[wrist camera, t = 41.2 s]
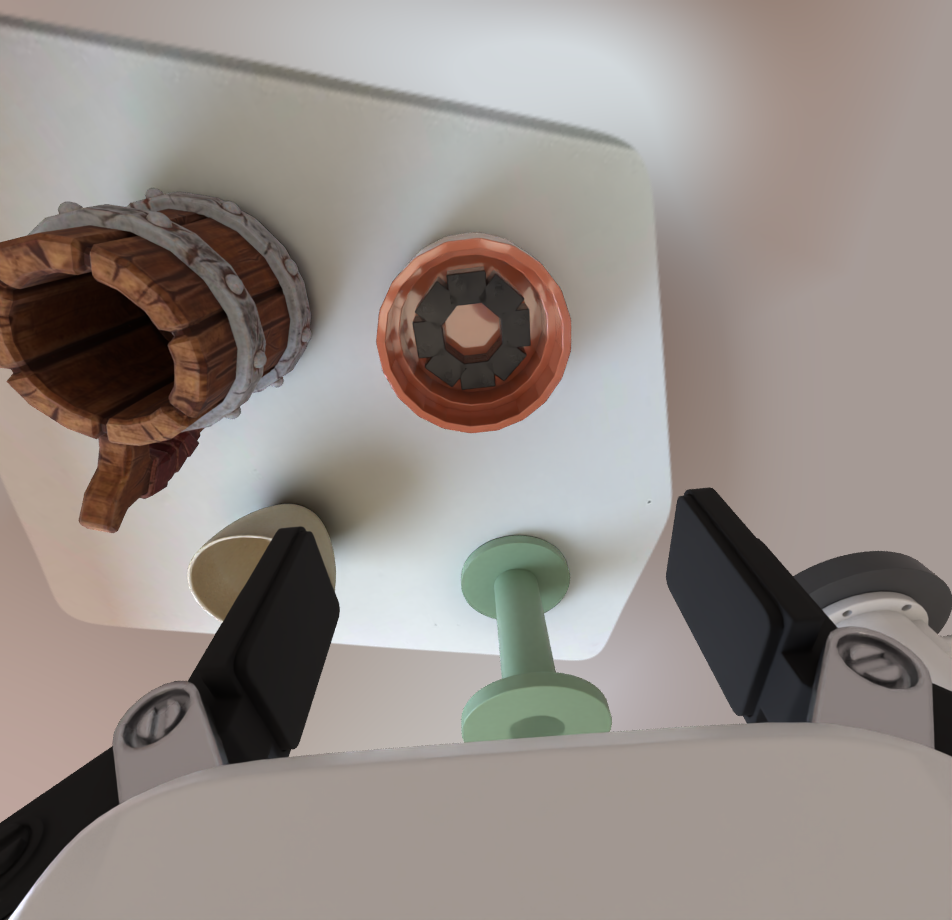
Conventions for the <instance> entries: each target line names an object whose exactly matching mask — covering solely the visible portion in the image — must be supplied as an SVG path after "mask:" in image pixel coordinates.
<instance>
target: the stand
mask: <svg viewBox="0 0 952 920" xmlns="http://www.w3.org/2000/svg"><path fill="white" fill-rule="evenodd" d="M569 583H570V573H569V570H568V566H567V563H566V560H565V558H564V556H563V555H562V553H561V552H560V551H559V550H558V549H557V548H556V547H554V546H553V545H552V544H550V543H548V542H546V541H544V540H542V539H539V538H535V537H531V536H521V535H516V536H506V537H501V538H498V539H495V540H492V541H489V542H487V543H485V544H483V545H482V546H480V547H479V548H478V549H476V550H475V551H474V552H473V553H472V554H471V555H470V556H469V557H468V559H467V560H466V562H465V564H464V566H463V569H462V574H461V587H462V592H463V595H464V597H465V599H466V601H467V602H468V603H469V605H470V606H471V607H472V608H474V609H475V610H476V611H478V612H479V613H481V614H483V615H485V616H488V617H491V618H494V619H497V626H498V638H499V649H500V661H501V671H502V679H500V680H498V681H495V682H493V683H491V684H489V685H487V686H485V687H484V688H482V689H481V690H479V691H478V692H477V693H476V694H474V695H473V696H472V697H471V699H470V700H469V701H468V702H467V704H466V706H465V707H464V710H463V713H462V738H463V740H464V743H465V742H479V741H492V740H505V739H519V738H533V737H546V736H560V735H573V734H588V733H603V732H610V730H611V725H612V717H611V714H610V710H609V707H608V703H607V700H606V698H605V697H604V695H603V693H602V692H601V691H600V690H599V689H598V688H597V687H596V686H595V685H593V684H591V683H590V682H588V681H586V680H584V679H582V678H579V677H576V676H573V675H569V674H564V673H556V671H555V666H554V662H553V656H552V651H551V646H550V641H549V637H548V632H547V627H546V622H545V617H544V613H545V612H547V611H549V610H550V609H552V608H553V607H555V606H556V605H557V604H558V603H559V602H560V601H561V600H562V599H563V597H564V596H565V594H566V592H567V590H568V587H569Z"/></svg>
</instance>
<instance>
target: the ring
mask: <svg viewBox="0 0 952 920" xmlns="http://www.w3.org/2000/svg"><path fill="white" fill-rule="evenodd" d="M446 278H447V283H446V282H445V281H443V280H442V279H441V278H440V277H437V278H436V280H435V281H434V283H433V284H432V285H431V287H430V288H429V290H428V291H427V292H426V294H425V295H424V297H423V298H422V299H421V301H420V302H419V304H418V305H417V307H416V310H415V313H416V314H417V315H419V316H415V317H414V320H413V323H412V324H413V330H414V336H415V341H416V347H417V352H418V358H419V359H421V358H426V362H425V366H424V367H425V368H426V369H427V370H429V371H430V372H431V373H433V374H434V375H435V376H437V377H438V378H440V379H441V380H442V381H444V382H445V383H446V384H448V385H449V386H450V387H453V386H454V385H455V384H456V383H457V381H458V380H459V379H460V383H461V389H462V390H467V389H476V388H485V387H494V386H496V383H495V375H496V376H497V377H499V378H500V379H501V380H503V381H505V380H506V379H507V378H508V377H509V376H510V375H511V373H512V372H513V371H514V370H515V369H516V368H517V367H518V365H519V364H520V363H521V362H522V361H523V360H524V359H525V357H526V356H527V354H526V352H525V349H524V347H525V346H531V335H530V313H529V308H528V306H527V305H526V303H522V302H523V301H524V297H523V296H522V294H521V293H520V292H519V291H518V290H517V289H516V288H514V287H513V286H512V285H511V284H510V283H509V282H508V281H506V280H505V279H504V278H503V277H502V276H501V275H500V274H498V273H497V272H496V271H495V270H493V271H492V272H491V274H490V275H489V276H488V278H487V279H486V272H485V269H484V267H483V266H482V267H474V268H466V269H458V270H449V271H447V275H446ZM477 303H482V304H483V305H485V306H486V307H487V308H488V309H489V310H491V311H492V312H493V313H494V314H495V315H497V316H498V317H499V327H500V337H499V338H498V339H497V340H496V342H495V343H494V344H493V345H492V346H491V348H490V349H489V350H488V351H487V352H486V353H482V354H474V355H465V356H464V355H463V354H461V353H460V352H459V351H457V350H456V349H455V348H454V347H452V346H451V345H450V344H448V343H447V342H446V336H445V329H444V323H445V321H446V320H447V319H448V317H449V316H450V315H451V313H452V312H453V311H454V309H455V308H456V307H457V306H460V305H469V304H477Z"/></svg>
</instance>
